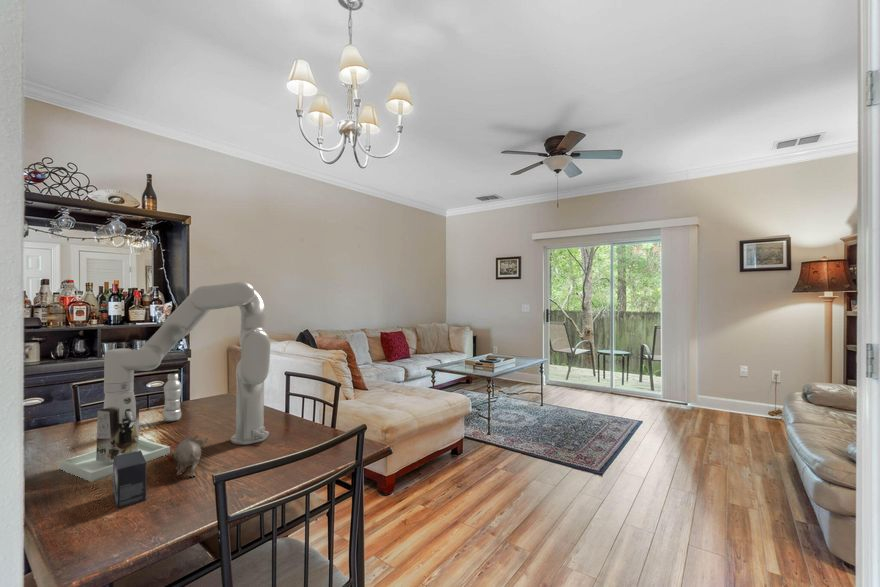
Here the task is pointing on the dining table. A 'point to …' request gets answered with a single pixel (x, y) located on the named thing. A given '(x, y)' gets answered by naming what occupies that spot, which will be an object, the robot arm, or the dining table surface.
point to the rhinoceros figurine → (188, 453)
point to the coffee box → (113, 435)
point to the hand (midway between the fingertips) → (118, 440)
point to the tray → (95, 470)
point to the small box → (129, 478)
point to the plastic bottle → (172, 398)
